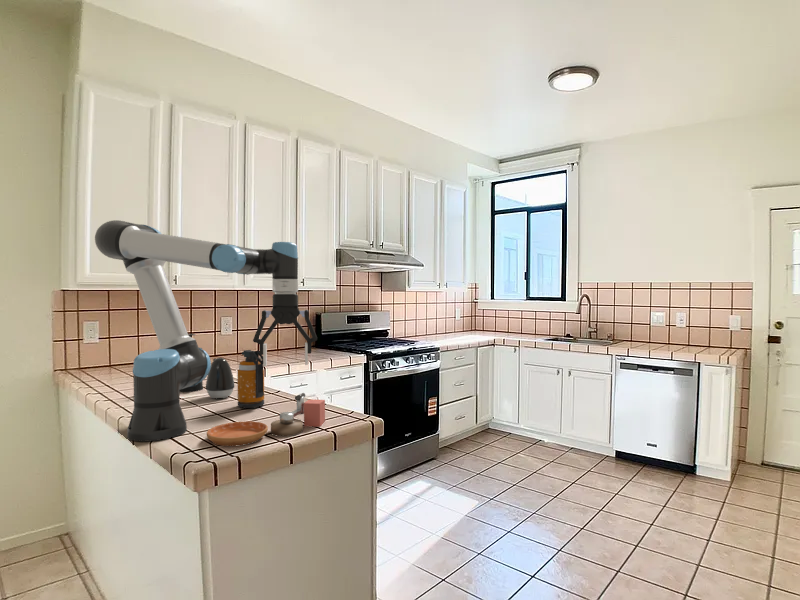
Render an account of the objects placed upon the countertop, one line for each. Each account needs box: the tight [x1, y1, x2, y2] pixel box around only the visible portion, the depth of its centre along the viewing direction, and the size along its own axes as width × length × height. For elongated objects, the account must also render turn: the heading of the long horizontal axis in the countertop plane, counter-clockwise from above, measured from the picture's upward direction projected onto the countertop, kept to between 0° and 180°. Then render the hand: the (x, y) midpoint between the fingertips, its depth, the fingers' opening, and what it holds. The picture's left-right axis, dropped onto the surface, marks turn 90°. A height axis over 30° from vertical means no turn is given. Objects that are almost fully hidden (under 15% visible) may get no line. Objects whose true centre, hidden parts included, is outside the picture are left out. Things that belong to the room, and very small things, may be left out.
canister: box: [236, 349, 265, 409], centre depth 166 cm, size 9×11×20 cm
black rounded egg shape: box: [205, 357, 235, 400], centre depth 181 cm, size 10×10×15 cm
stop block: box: [303, 398, 326, 428], centre depth 145 cm, size 5×5×7 cm
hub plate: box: [270, 418, 304, 437], centre depth 137 cm, size 9×9×3 cm
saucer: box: [206, 420, 269, 447], centre depth 131 cm, size 16×16×3 cm
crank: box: [279, 392, 306, 424], centre depth 141 cm, size 12×4×6 cm, turn 163°
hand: (285, 365), depth 144 cm, fingers open, 11 cm apart
